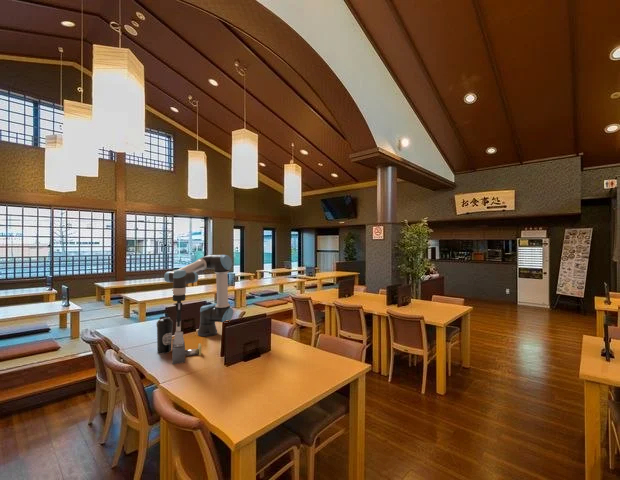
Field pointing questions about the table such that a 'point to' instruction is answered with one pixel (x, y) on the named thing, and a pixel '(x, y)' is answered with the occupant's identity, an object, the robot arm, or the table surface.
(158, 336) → the water bottle
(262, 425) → the table surface
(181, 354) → the hitch beam
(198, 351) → the lynch pin
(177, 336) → the plate
